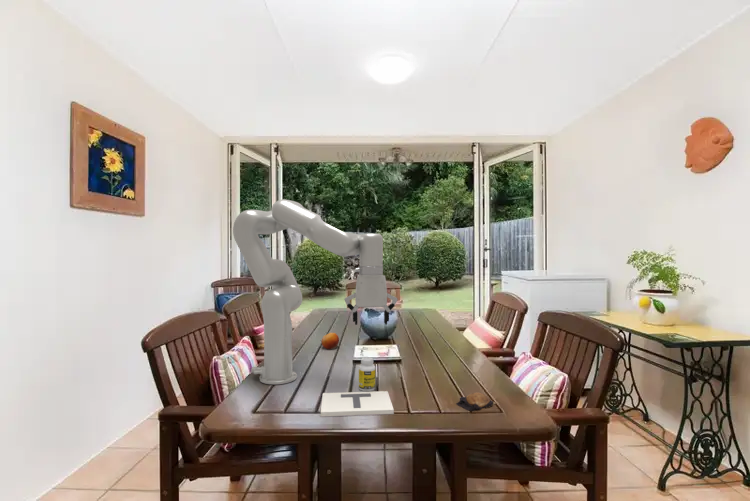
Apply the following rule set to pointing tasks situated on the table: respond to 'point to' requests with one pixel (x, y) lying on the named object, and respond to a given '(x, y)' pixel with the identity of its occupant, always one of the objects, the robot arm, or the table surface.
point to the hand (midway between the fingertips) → (370, 323)
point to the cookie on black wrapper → (475, 402)
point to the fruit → (330, 341)
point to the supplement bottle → (366, 374)
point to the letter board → (356, 403)
